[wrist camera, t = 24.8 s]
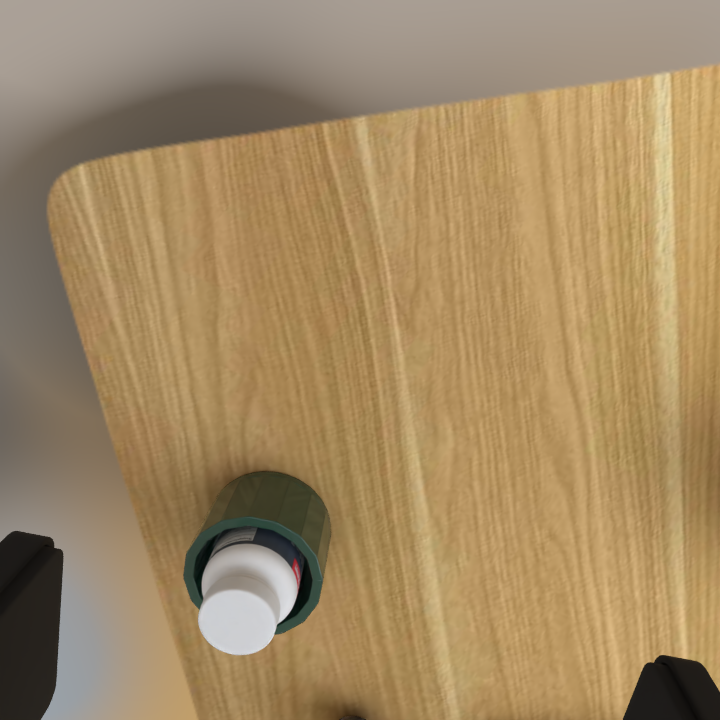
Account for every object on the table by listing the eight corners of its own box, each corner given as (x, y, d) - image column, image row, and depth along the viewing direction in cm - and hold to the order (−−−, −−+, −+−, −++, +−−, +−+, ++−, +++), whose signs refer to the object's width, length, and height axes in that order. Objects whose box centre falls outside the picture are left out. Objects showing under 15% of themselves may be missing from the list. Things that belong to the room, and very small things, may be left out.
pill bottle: (325, 547, 42) (307, 648, 33) (253, 576, 43) (218, 680, 34) (286, 479, 40) (258, 565, 32) (213, 509, 41) (166, 601, 33)
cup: (203, 565, 43) (177, 622, 38) (217, 460, 41) (191, 505, 36) (319, 588, 43) (309, 647, 38) (340, 484, 41) (332, 532, 36)
